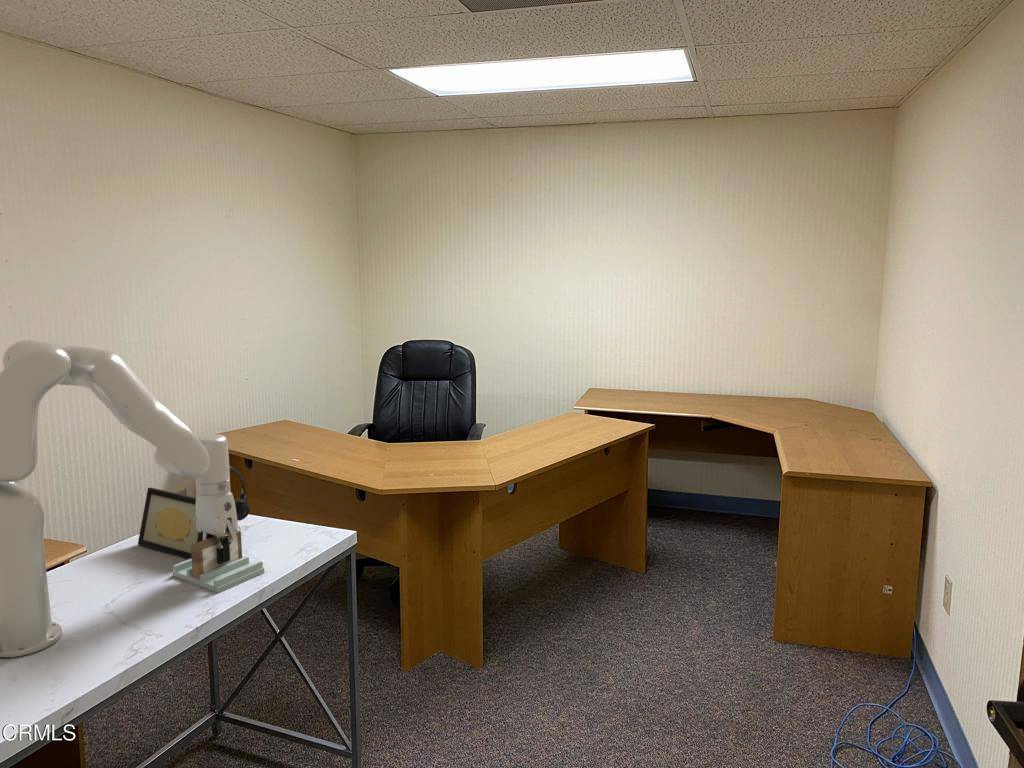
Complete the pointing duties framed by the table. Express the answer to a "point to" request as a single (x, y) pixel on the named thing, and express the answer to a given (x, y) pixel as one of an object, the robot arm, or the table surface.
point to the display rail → (220, 574)
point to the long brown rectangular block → (212, 554)
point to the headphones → (241, 498)
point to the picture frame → (169, 523)
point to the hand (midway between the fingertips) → (217, 559)
